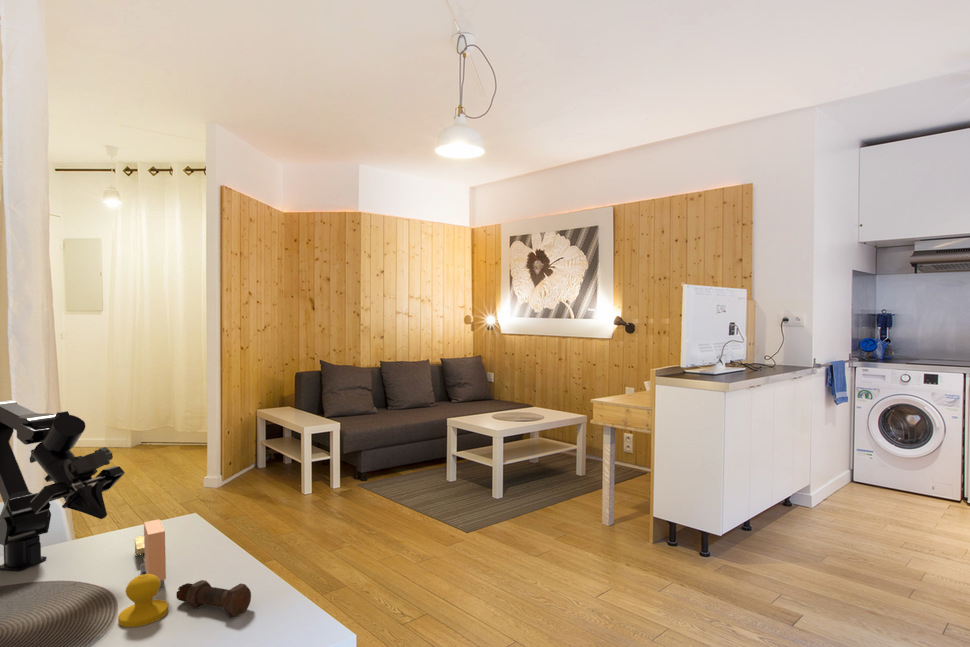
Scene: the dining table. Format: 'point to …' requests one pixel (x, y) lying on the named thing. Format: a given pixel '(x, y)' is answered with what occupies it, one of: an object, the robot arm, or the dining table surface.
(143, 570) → the peach block with bar
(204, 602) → the bolt
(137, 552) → the keeper
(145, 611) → the doorknob
